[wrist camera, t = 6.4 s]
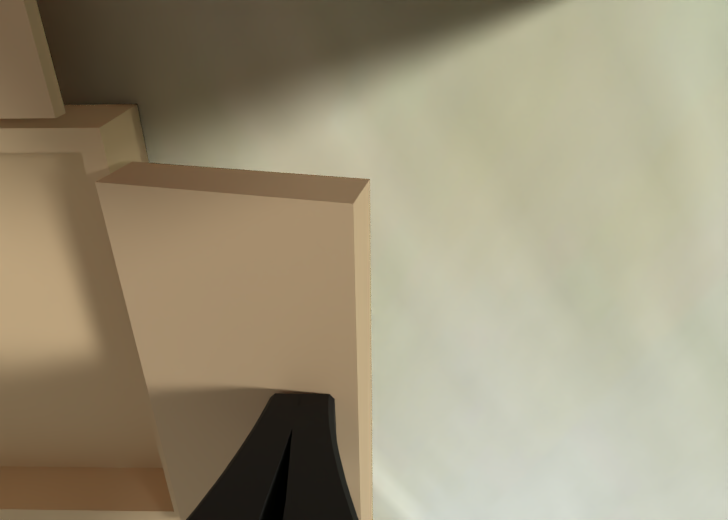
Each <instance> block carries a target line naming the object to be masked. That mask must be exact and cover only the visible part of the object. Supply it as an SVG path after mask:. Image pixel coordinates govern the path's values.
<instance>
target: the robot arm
mask: <svg viewBox="0 0 728 520" xmlns="http://www.w3.org/2000/svg"><path fill="white" fill-rule="evenodd" d="M186 520H359V519H358V516H357V513H356V510H355V507H354V504H353V501H352V498H351V495H350V492H349V489H348V485H347V482H346V478H345V474H344V470H343V466H342V462H341V458H340V454H339V449H338V444H337V435H336V415H335V399H334V398H333V397H332V396H331V395H330V394H282V393H275V394H274V395H272V396H271V397H270V399H269V400H268V402H267V404H266V406H265V408H264V410H263V411H262V413H261V415H260V417H259V418H258V420H257V422H256V423H255V425H254V427H253V428H252V430H251V431H250V433H249V435H248V436H247V438H246V439H245V441H244V442H243V444H242V445H241V447H240V448H239V450H238V451H237V453H236V454H235V456H234V457H233V458H232V460H231V461H230V463H229V464H228V466H227V467H226V469H225V470H224V471H223V473H222V474H221V476H220V477H219V478H218V480H217V481H216V482H215V484H214V485H213V486H212V487H211V489H210V490H209V491H208V493H207V494H206V495H205V496H204V498H203V499H202V500H201V502H200V503H199V504H198V506H197V507H196V508H195V509H194V511H193V512H192V513H191V514H190V515H189V517H188V518H187V519H186Z"/></svg>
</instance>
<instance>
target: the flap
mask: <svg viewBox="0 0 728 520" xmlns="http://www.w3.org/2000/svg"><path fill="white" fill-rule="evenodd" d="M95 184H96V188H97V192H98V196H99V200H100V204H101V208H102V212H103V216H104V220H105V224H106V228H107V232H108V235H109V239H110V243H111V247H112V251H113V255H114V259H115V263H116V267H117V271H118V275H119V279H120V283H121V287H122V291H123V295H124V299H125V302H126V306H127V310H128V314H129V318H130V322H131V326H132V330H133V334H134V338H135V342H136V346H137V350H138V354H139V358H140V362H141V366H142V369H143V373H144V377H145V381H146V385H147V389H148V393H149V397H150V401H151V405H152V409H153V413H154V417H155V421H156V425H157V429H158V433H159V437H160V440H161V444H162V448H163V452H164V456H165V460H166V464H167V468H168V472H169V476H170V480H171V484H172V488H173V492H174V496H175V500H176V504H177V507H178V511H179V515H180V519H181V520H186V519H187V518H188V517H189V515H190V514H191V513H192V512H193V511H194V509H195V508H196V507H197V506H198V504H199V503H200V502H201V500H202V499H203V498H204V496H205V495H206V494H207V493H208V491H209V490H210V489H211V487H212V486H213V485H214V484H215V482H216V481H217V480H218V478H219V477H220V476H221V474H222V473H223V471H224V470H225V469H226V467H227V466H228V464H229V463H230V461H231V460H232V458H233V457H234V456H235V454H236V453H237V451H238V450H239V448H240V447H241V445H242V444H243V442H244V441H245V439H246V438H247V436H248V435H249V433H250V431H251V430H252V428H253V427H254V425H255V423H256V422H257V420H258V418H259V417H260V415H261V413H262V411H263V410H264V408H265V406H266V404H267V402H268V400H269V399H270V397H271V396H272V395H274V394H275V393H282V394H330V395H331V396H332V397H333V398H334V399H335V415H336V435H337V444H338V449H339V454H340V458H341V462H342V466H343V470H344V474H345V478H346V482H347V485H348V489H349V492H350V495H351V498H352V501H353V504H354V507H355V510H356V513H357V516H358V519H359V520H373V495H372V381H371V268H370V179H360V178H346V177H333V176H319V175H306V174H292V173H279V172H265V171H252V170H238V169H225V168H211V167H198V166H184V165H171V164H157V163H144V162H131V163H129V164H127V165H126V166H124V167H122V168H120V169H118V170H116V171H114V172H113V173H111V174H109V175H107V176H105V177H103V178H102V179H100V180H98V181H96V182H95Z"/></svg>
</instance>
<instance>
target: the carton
mask: <svg viewBox="0 0 728 520" xmlns="http://www.w3.org/2000/svg"><path fill="white" fill-rule="evenodd" d="M131 162H144V163H149V161H148V156H147V151H146V146H145V141H144V136H143V131H142V126H141V121H140V116H139V111H138V106H137V104H99V105H64V104H63V100H62V97H61V93H60V89H59V85H58V81H57V78H56V74H55V70H54V66H53V62H52V59H51V55H50V51H49V47H48V43H47V40H46V36H45V32H44V28H43V24H42V21H41V17H40V13H39V9H38V5H37V2H36V0H0V520H181V519H180V515H179V511H178V507H177V504H176V500H175V496H174V492H173V488H172V484H171V480H170V476H169V472H168V468H167V464H166V460H165V456H164V452H163V448H162V444H161V440H160V437H159V433H158V429H157V425H156V421H155V417H154V413H153V409H152V405H151V401H150V397H149V393H148V389H147V385H146V381H145V377H144V373H143V369H142V366H141V362H140V358H139V354H138V350H137V346H136V342H135V338H134V334H133V330H132V326H131V322H130V318H129V314H128V310H127V306H126V302H125V299H124V295H123V291H122V287H121V283H120V279H119V275H118V271H117V267H116V263H115V259H114V255H113V251H112V247H111V243H110V239H109V235H108V232H107V228H106V224H105V220H104V216H103V212H102V208H101V204H100V200H99V196H98V192H97V188H96V184H95V182H96V181H98V180H100V179H102V178H103V177H105V176H107V175H109V174H111V173H113V172H114V171H116V170H118V169H120V168H122V167H124V166H126V165H127V164H129V163H131Z"/></svg>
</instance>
